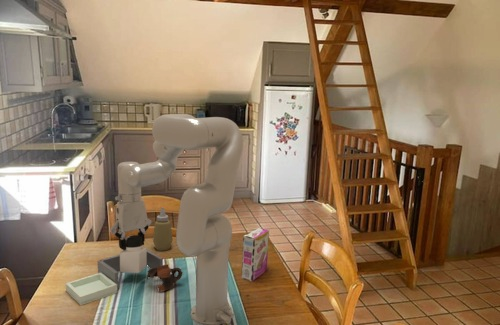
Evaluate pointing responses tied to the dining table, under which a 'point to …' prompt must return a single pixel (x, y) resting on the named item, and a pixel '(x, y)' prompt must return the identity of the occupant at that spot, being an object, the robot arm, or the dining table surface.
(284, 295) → the dining table surface
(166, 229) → the squeeze bottle
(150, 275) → the brown mug
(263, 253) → the candy bar box
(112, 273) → the bay
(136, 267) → the medicine bottle
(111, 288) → the tray
